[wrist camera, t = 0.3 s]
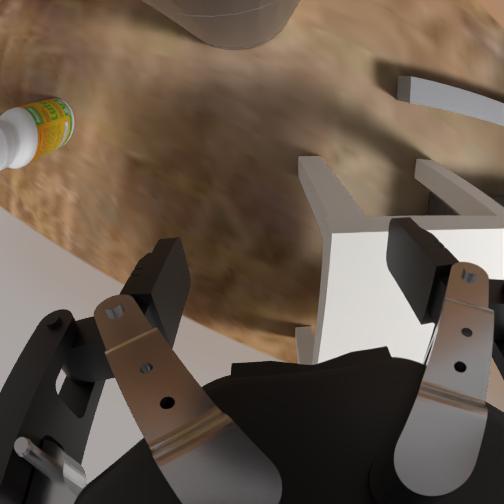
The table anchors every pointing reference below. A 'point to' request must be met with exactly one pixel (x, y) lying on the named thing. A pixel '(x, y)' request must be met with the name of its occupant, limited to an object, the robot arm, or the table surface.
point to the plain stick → (449, 99)
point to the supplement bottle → (34, 131)
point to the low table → (374, 262)
